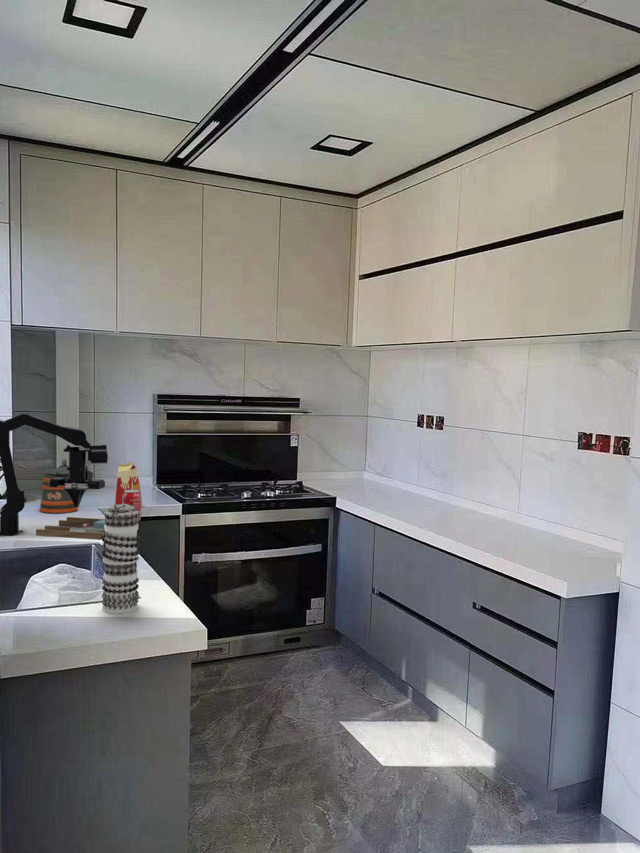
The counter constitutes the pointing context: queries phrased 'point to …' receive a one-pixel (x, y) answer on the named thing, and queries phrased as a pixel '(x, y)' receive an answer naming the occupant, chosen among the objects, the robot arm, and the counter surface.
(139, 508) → the soda can
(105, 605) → the decorative candle
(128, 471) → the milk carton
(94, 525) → the slate block
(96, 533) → the brown bars
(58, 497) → the beer stein
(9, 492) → the robot arm
